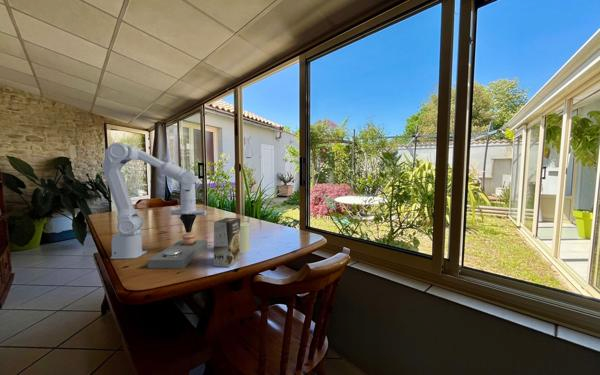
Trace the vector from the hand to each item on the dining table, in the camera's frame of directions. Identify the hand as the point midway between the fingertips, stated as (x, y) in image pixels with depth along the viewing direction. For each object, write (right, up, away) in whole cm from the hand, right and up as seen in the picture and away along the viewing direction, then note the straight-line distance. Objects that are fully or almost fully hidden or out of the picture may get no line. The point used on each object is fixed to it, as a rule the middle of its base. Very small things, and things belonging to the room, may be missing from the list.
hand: (188, 232), depth 103 cm
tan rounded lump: (0, -5, 0) cm, 5 cm away
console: (0, -8, -7) cm, 11 cm away
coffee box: (+20, -9, -13) cm, 26 cm away
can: (+21, -8, +2) cm, 23 cm away
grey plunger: (0, -9, -14) cm, 16 cm away
